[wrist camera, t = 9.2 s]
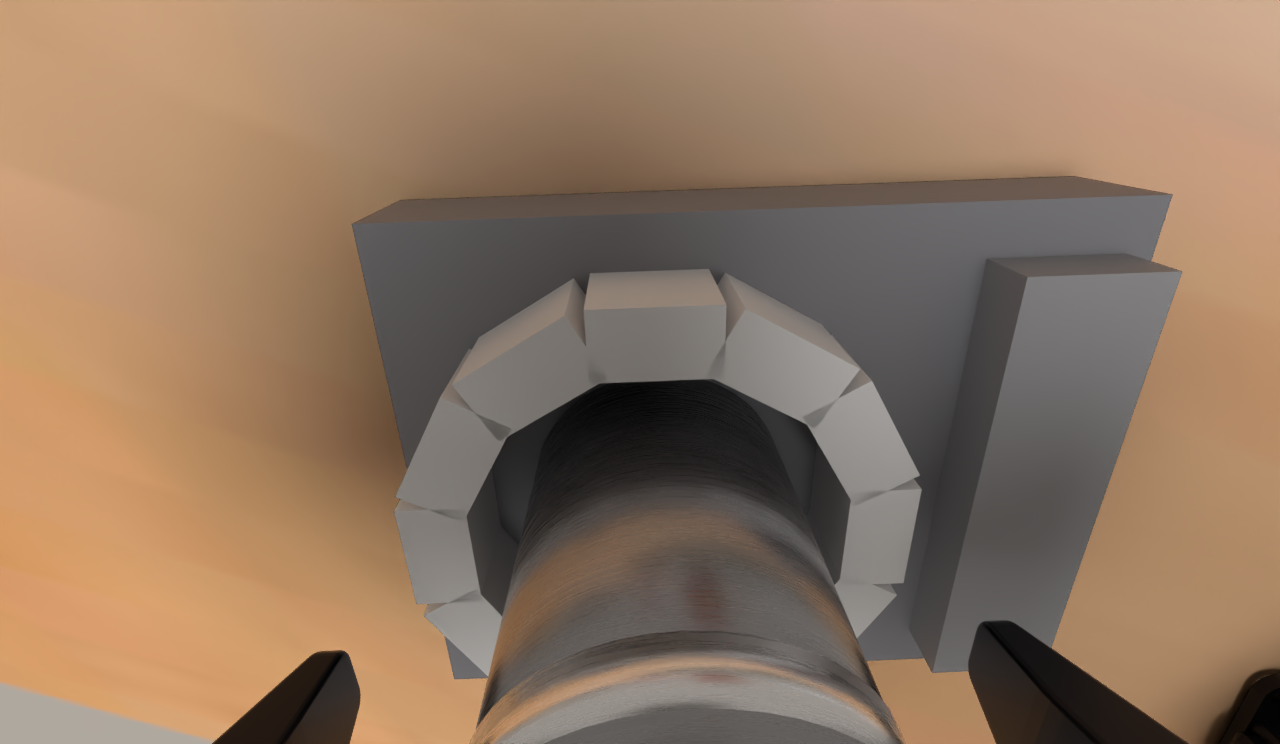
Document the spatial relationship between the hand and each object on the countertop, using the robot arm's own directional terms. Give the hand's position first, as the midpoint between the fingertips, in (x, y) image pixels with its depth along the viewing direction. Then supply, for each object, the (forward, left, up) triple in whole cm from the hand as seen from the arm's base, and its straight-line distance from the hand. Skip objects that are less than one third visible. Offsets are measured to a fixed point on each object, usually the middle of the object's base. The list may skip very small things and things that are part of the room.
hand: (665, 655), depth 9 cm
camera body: (-2, 0, -7) cm, 7 cm away
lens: (0, 0, -4) cm, 4 cm away
